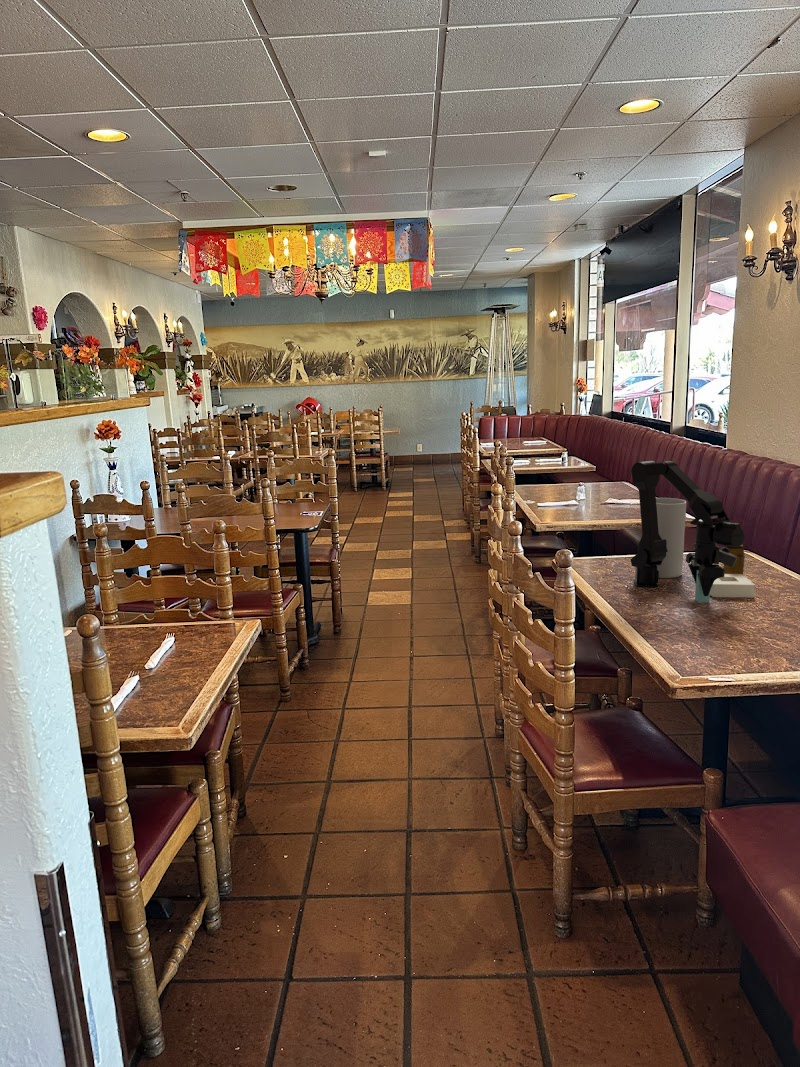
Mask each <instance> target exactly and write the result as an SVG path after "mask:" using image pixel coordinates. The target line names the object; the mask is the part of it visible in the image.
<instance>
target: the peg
mask: <svg viewBox="0 0 800 1067" xmlns="http://www.w3.org/2000/svg"><path fill="white" fill-rule="evenodd" d="M697 574H699V570H697ZM710 596H711V595H710V592H709V595H708V596H704V594H703V591H702V588H701V585H700V581H699V578H698V575H697V577H696V584H695V596H694V597H695V598H694V600H696V602H697V603H706V604H707V603H710Z"/></svg>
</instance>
